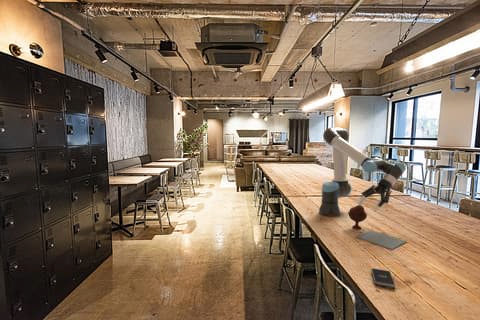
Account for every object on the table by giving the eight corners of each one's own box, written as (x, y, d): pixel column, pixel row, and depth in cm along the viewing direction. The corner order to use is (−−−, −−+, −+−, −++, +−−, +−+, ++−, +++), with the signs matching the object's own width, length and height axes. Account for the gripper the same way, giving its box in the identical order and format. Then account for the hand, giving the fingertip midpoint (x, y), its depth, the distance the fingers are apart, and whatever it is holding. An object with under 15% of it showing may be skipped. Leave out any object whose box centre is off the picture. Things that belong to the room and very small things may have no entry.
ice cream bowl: (364, 226, 165) (365, 203, 164) (367, 232, 155) (368, 207, 153) (347, 224, 169) (348, 202, 167) (348, 230, 158) (349, 206, 157)
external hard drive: (374, 286, 99) (375, 281, 99) (371, 272, 110) (371, 267, 109) (395, 290, 97) (395, 285, 97) (389, 275, 107) (389, 270, 107)
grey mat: (355, 237, 147) (355, 236, 147) (370, 231, 156) (370, 230, 156) (391, 250, 130) (392, 248, 130) (406, 242, 140) (407, 241, 140)
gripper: (369, 175, 176) (349, 198, 173) (400, 181, 152) (378, 208, 149) (375, 183, 177) (356, 205, 175) (407, 190, 154) (385, 216, 151)
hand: (366, 206), depth 162 cm, fingers open, 13 cm apart
